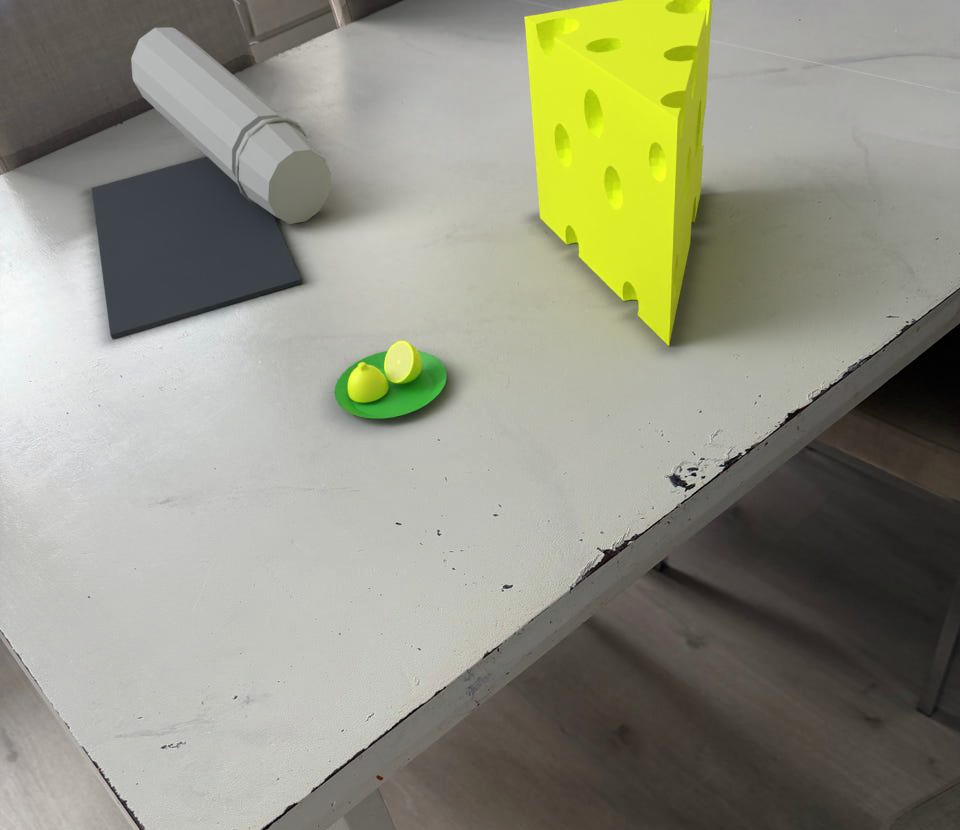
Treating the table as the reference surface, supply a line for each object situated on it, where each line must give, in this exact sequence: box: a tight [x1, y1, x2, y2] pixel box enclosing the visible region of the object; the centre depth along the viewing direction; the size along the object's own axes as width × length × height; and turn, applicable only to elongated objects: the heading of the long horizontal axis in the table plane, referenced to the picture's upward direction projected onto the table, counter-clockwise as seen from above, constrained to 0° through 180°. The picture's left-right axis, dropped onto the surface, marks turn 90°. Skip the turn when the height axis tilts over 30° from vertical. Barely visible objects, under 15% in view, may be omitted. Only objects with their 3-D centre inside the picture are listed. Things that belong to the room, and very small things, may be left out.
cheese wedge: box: [524, 0, 713, 347], centre depth 66 cm, size 19×20×15 cm
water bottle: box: [130, 26, 332, 225], centre depth 85 cm, size 9×8×25 cm
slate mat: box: [91, 155, 303, 340], centre depth 83 cm, size 30×16×1 cm, turn 19°
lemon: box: [334, 340, 448, 419], centre depth 63 cm, size 8×8×3 cm
